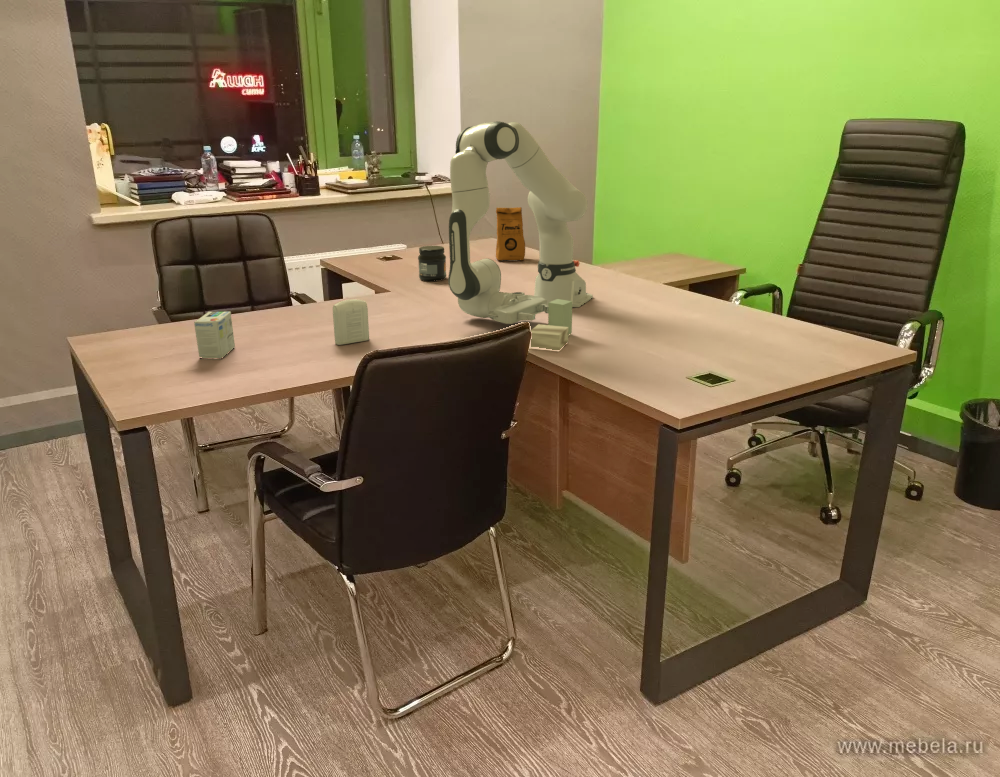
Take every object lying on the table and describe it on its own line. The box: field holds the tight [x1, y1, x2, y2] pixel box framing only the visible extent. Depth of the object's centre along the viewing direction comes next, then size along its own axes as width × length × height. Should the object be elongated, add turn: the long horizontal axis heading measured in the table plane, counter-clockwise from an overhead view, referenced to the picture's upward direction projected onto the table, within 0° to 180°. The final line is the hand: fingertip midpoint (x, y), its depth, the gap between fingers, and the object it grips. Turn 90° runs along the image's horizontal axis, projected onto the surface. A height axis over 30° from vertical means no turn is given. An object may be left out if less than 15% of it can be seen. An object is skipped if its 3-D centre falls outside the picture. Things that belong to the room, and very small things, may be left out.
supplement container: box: [417, 245, 447, 282], centre depth 309 cm, size 10×10×12 cm
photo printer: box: [332, 298, 370, 346], centre depth 233 cm, size 10×4×12 cm, turn 123°
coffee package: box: [495, 207, 526, 261], centre depth 340 cm, size 10×12×22 cm
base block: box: [530, 323, 569, 350], centre depth 228 cm, size 9×9×5 cm
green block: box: [547, 299, 573, 336], centre depth 237 cm, size 5×5×10 cm
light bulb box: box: [193, 310, 236, 358], centre depth 224 cm, size 11×7×11 cm, turn 178°
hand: (542, 313), depth 241 cm, fingers open, 8 cm apart
